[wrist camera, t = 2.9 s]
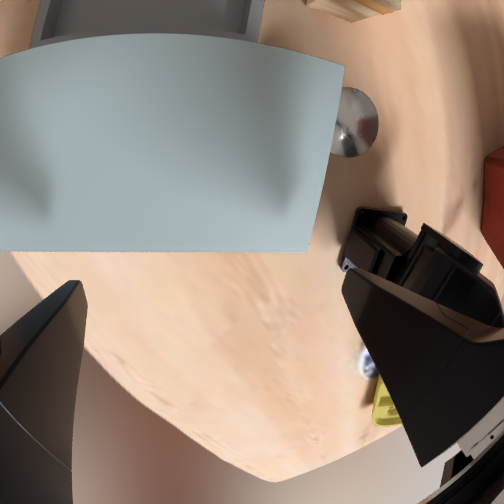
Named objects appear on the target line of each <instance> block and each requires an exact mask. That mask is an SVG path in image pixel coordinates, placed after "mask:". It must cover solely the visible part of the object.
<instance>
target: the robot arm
mask: <svg viewBox="0 0 504 504" xmlns="http://www.w3.org/2000/svg"><path fill="white" fill-rule="evenodd" d="M362 211H363V213H362V214H361V212H362ZM402 217H403V218H402ZM406 220H407V214H405V213H404V212H399V211H391V210H384V209H376V208H367V207H359V208H358V209H357V211H356V214H355V217H354V221H353V225H352V228H351V232H350V235H349V238H348V242H347V245H346V248H345V252H344V255H343V258H342V261H341V264H340V269H341V270H342V271H343V272H346V275H345V279H344V282H343V285H342V294H343V297H344V299H345V302H346V304H347V307H348V309H349V312H350V314H351V316H352V319H353V321H354V324H355V326H356V328H357V330H358V332H359V334H360V336H361V338H362V340H363V342H364V344H365V346H366V348H367V350H368V352H369V354H370V356H371V358H372V360H373V362H374V364H375V366H376V368H377V370H378V372H379V374H380V376H381V378H382V380H383V382H384V384H385V387H386V389H387V391H388V393H389V395H390V397H391V399H392V401H393V404H394V406H395V408H396V410H397V412H398V415H399V417H400V419H401V420H402V421H401V422H402V424H403V426H404V428H405V431H406V433H407V435H408V438H409V440H410V442H411V445H412V447H413V449H414V452H415V454H416V457H417V459H418V462H419V464H420V466H421V467H423V466H425V465H427V464H428V463H429V462H431V461H432V460H434V459H435V458H437V457H438V456H440V455H441V454H442V453H444V452H445V451H446V450H448V449H449V448H451V447H452V446H453V445H455V444H456V443H458V445H459V447H460V448H461V451H459V452H458V453H457V454H456V455H455V456H453V457H452V458H451V459H449V460H448V461H447V462H445V466H444V471H443V476H442V480H441V485H440V488H439V489H438V490H437V491H435V492H434V493H432V494H431V495H429V496H428V497H427V498H425V499H424V500H423V501H421V502H419V503H418V504H504V311H503V308H502V305H501V302H500V299H499V296H498V293H497V290H496V288H495V286H494V284H493V283H492V282H491V281H490V280H488V279H487V278H486V277H485V276H483V275H482V274H481V273H480V270H481V268H482V266H483V264H482V263H481V262H480V261H479V260H477V259H476V258H475V257H474V256H473V255H471V254H470V253H469V252H468V251H467V250H465V249H464V248H462V247H461V246H460V245H458V244H457V243H455V242H454V241H452V240H451V239H449V238H448V237H446V236H445V235H443V234H442V233H440V232H438V231H437V230H435V229H433V228H432V227H430V226H428V225H427V224H425V223H423V225H422V227H421V231H420V233H419V235H416V234H415V233H414V232H412V231H411V230H409V229H408V228H406V227H405V223H406ZM345 266H346V267H345ZM87 308H88V305H87V300H86V296H85V292H84V288H83V285H82V282H81V281H80V280H69V281H67V282H66V283H65V284H63V285H62V286H61V287H59V288H58V289H57V290H55V291H54V292H53V293H52V294H50V295H49V296H48V297H46V298H45V299H44V300H43V301H41V302H40V303H39V304H37V305H36V306H35V307H34V308H32V309H31V310H30V311H29V312H28V313H26V314H25V315H24V316H23V317H21V318H20V319H19V320H18V321H17V322H15V323H14V324H13V325H12V326H11V327H10V328H8V329H7V330H6V331H5V332H4V333H3V334H1V335H0V504H73V499H72V471H71V470H72V437H73V423H74V411H75V401H76V393H77V385H78V379H79V372H80V366H81V360H82V355H83V348H84V337H85V326H86V317H87Z"/></svg>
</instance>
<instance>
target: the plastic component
mask: <svg viewBox="0 0 504 504" xmlns="http://www.w3.org/2000/svg"><path fill="white" fill-rule="evenodd" d="M401 421H402V420H401V419H400V417H399V415H398V412H397V410H396V408H395V406H394V404H393V401H392V399H391V397H390V395H389V393H388V391H387V389H386V387H385V384H384V382H383V380H382V378H381V376H380V374H379V377H378V382H377V386H376V391H375V395H374V400H373V410H372V422H373V424H375V425H377V426H384V427H386V426H395V425H402V422H401Z"/></svg>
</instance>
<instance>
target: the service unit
mask: <svg viewBox="0 0 504 504" xmlns="http://www.w3.org/2000/svg"><path fill="white" fill-rule="evenodd" d="M344 70H345V66H342V65H339V64H336V63H333V62H330V61H327V60H324V59H321V58H317V57H314V56H310V55H307V54H303V53H300V52H296V51H292V50H288V49H283V48H279V47H275V46H270V45H265V44H260V43H254V42H249V41H243V40H236V39H229V38H221V37H212V36H202V35H188V34H160V33H149V34H122V35H109V36H99V37H90V38H83V39H76V40H70V41H64V42H59V43H54V44H49V45H45V46H40V47H36V48H32V49H28V50H25V51H21V52H18V53H14V54H11V55H8V56H5V57H2V58H0V251H26V252H267V253H307V252H308V248H309V244H310V240H311V236H312V231H313V227H314V223H315V219H316V215H317V210H318V206H319V202H320V197H321V193H322V188H323V184H324V179H325V174H326V170H327V165H328V160H329V155H330V150H331V145H332V140H333V135H334V129H335V124H336V119H337V113H338V107H339V101H340V96H341V89H342V83H343V77H344Z"/></svg>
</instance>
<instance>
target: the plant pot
mask: <svg viewBox="0 0 504 504" xmlns="http://www.w3.org/2000/svg"><path fill="white" fill-rule="evenodd" d="M481 233H482V235H483V237H484V238H485V240H486V242H487V243H488V245H489V246H490V248H491V250H492V251H493V253H494V254H495V256H496V258H497V259H498V261H499V262H500V264H501V265H502V267H503V269H504V147H502V148H500V149H499V150H497V151H495V152H494V153H492V154H490V155H488V156H487V158H486V160H485V185H484V206H483V218H482V229H481Z"/></svg>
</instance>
